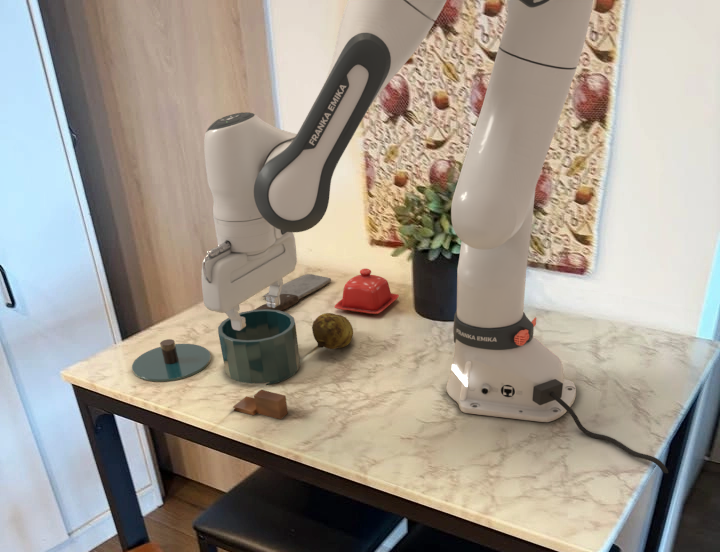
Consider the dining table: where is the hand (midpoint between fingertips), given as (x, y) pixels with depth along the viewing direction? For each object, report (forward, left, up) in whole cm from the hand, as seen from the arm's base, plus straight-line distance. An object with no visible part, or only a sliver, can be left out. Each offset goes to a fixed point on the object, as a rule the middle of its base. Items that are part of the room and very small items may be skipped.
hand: (257, 317), depth 122 cm
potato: (+3, -27, -18) cm, 32 cm away
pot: (+11, -13, -18) cm, 25 cm away
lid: (+29, -7, -17) cm, 34 cm away
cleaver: (+27, -43, -18) cm, 53 cm away
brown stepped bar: (+2, 0, -18) cm, 18 cm away
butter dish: (+7, -47, -18) cm, 50 cm away
